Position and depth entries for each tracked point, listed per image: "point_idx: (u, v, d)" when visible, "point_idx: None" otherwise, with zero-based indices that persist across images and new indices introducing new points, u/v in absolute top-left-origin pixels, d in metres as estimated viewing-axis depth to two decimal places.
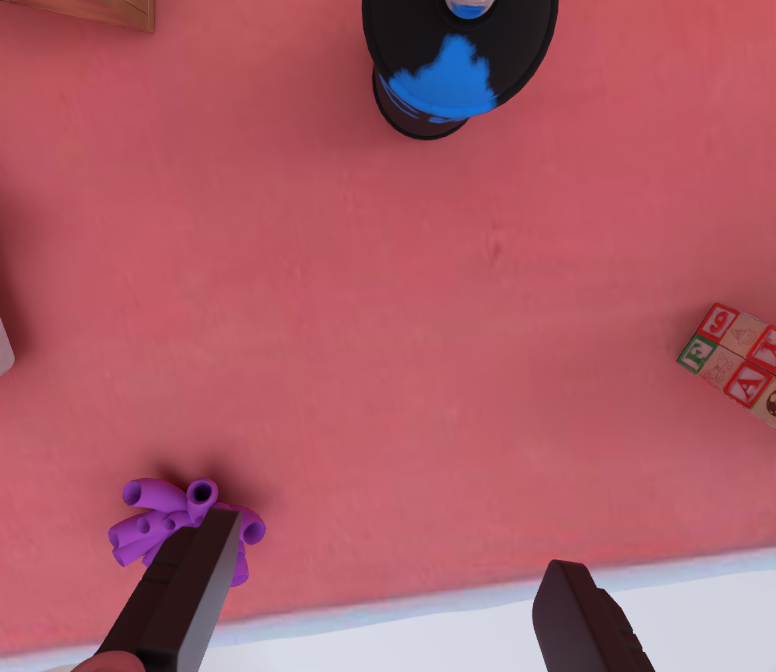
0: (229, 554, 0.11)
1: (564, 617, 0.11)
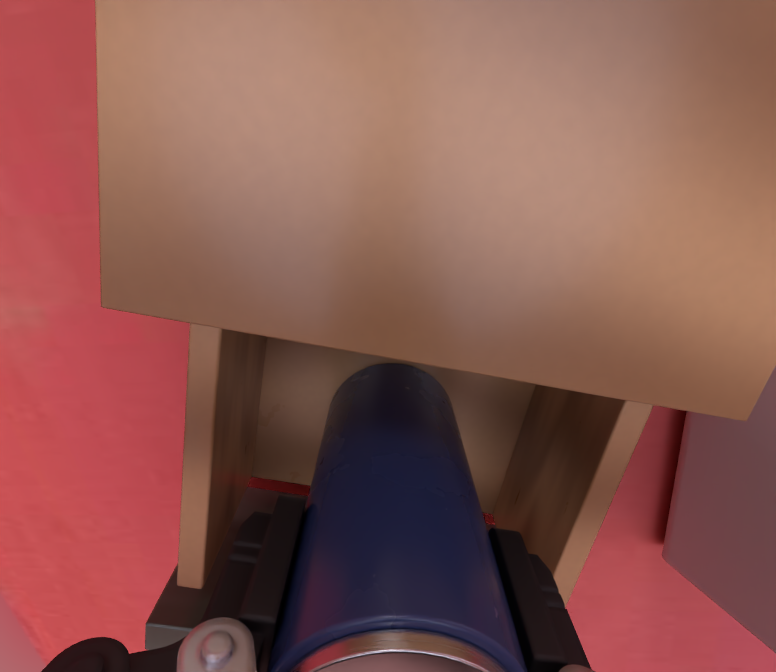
0: None
1: None
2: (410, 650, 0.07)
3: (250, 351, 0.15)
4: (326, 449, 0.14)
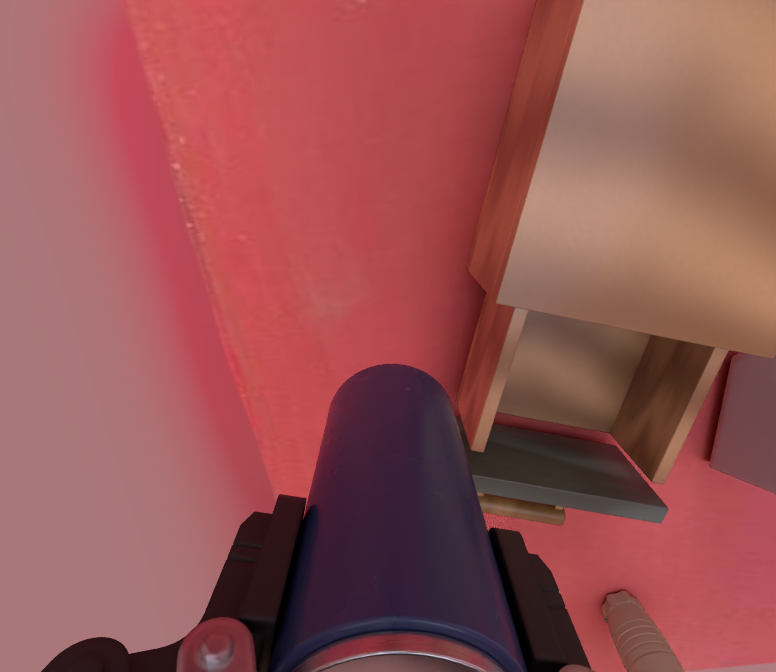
0: (297, 538, 0.11)
1: None
2: (410, 652, 0.07)
3: None
4: (327, 450, 0.14)
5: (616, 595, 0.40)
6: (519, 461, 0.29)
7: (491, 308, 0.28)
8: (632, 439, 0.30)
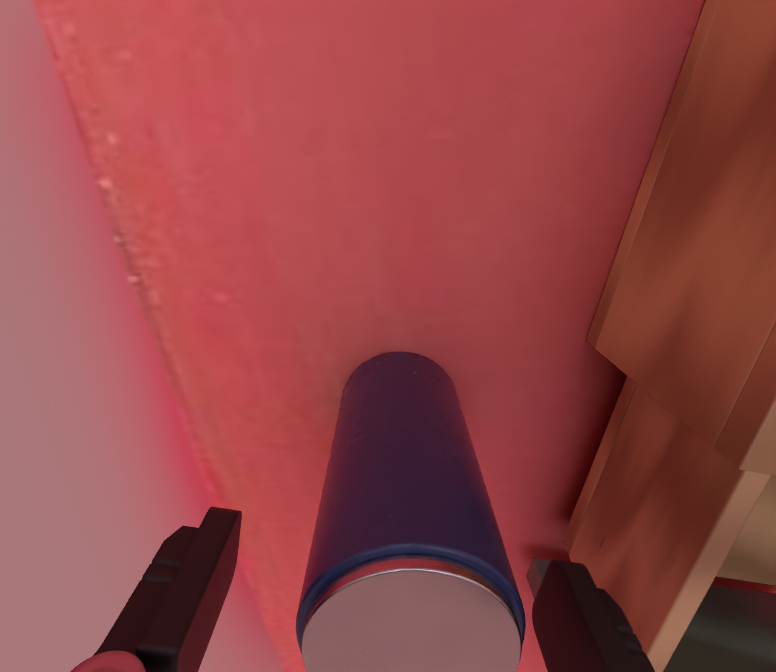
0: (229, 554, 0.11)
1: (564, 617, 0.11)
2: (422, 569, 0.09)
3: None
4: (343, 426, 0.15)
5: None
6: (688, 668, 0.18)
7: (651, 422, 0.16)
8: None
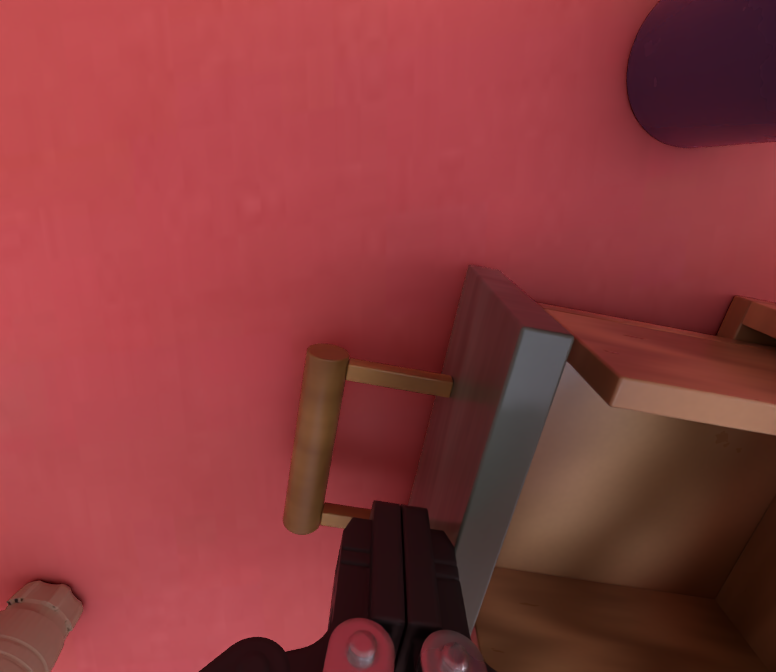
0: None
1: None
2: None
3: None
4: None
5: (71, 598, 0.22)
6: None
7: None
8: (502, 619, 0.17)
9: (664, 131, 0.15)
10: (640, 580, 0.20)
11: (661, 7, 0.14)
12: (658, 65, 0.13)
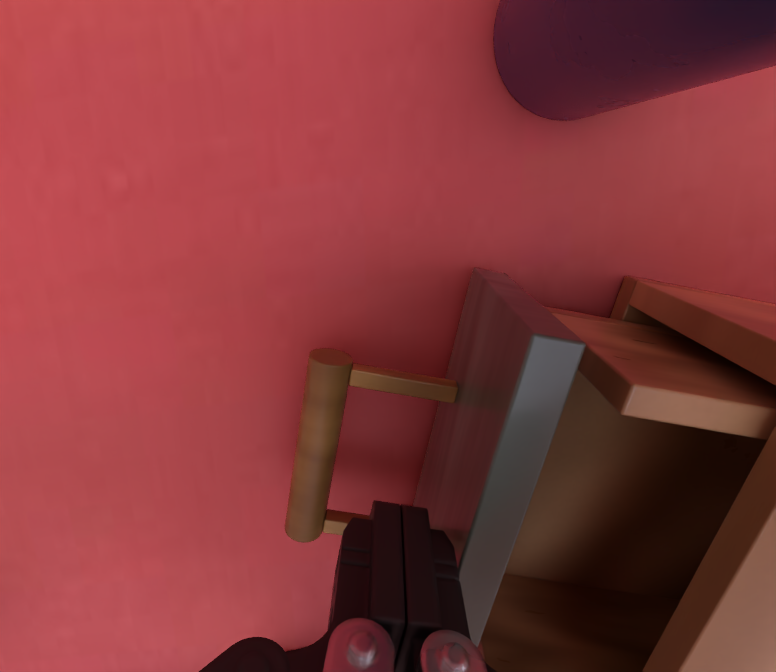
0: None
1: None
2: None
3: None
4: None
5: None
6: None
7: None
8: (507, 627, 0.17)
9: (530, 101, 0.14)
10: (647, 587, 0.19)
11: None
12: (508, 29, 0.13)
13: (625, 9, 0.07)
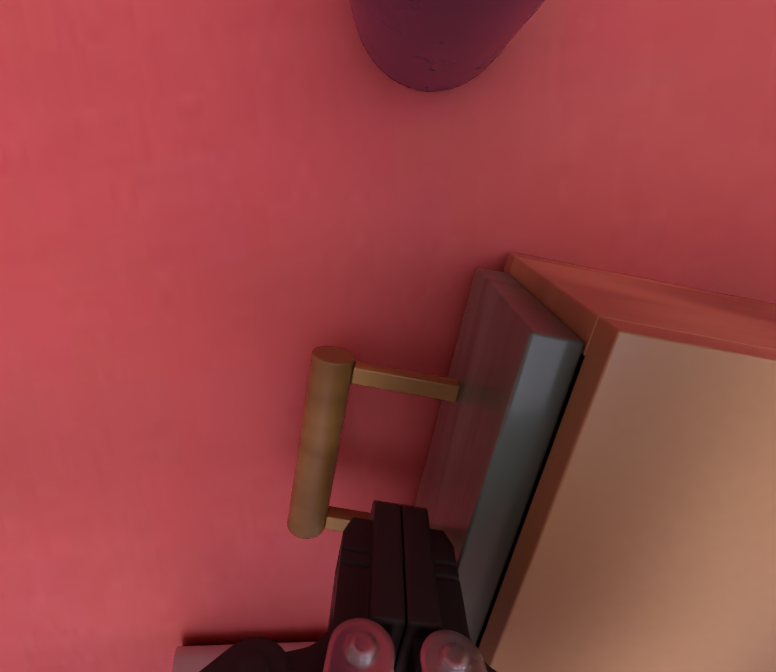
0: None
1: None
2: None
3: None
4: None
5: None
6: None
7: None
8: None
9: (387, 69, 0.14)
10: None
11: None
12: None
13: None
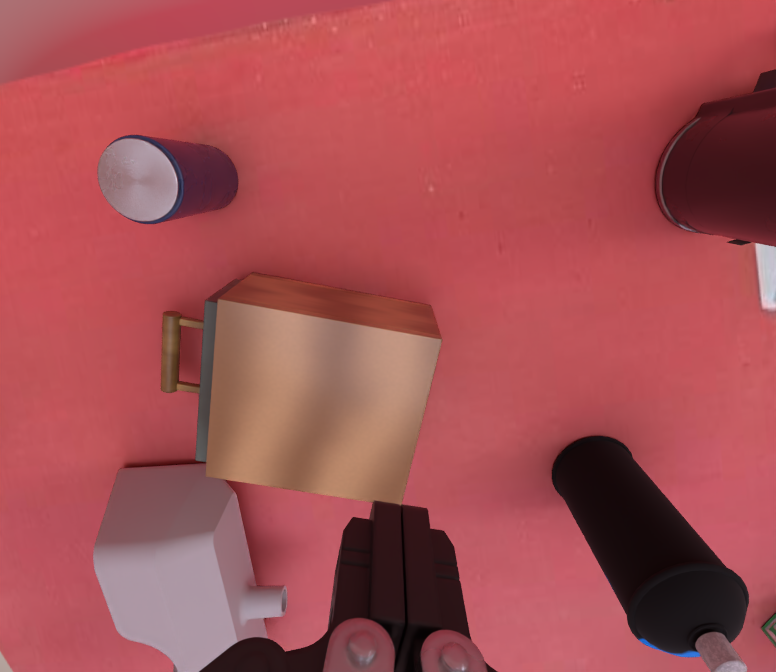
0: None
1: None
2: (177, 184, 0.27)
3: None
4: (202, 149, 0.32)
5: None
6: None
7: None
8: None
9: None
10: None
11: None
12: None
13: None
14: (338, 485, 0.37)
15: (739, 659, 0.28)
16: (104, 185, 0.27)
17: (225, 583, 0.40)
